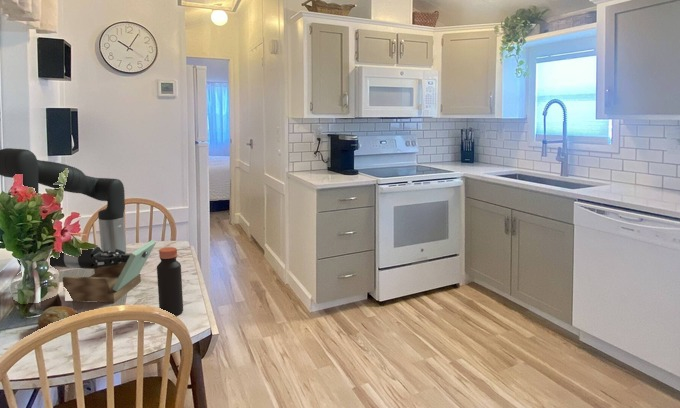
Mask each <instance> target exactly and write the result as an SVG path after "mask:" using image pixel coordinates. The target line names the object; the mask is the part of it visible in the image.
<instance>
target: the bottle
mask: <svg viewBox="0 0 680 408" xmlns="http://www.w3.org/2000/svg"><path fill="white" fill-rule="evenodd" d="M158 255H159V259H160V262H159V263H158V264H157V266H156V273H157V274H156V276H157V292H158V294H157V295H158V306H159V307H158V308H161V309H163V310H166V311H168V312H170V313H172V314H174V315H177V316H179V315H181V314H182V313H183V311H184V299H183V297H184V296H183V295H184V294H183V282H182V281H183V280H182V277H183V275H182V266H181V263H180V262H179V261H178V260H177V258H178V248H177V247H172V246H171V247H167V246H166V247H163V248H160V249H158Z"/></svg>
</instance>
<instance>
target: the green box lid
mask: <svg viewBox="0 0 680 408" xmlns="http://www.w3.org/2000/svg"><path fill="white" fill-rule="evenodd" d="M156 244H157V241H156V240H154V239H151V240H150V241H149V242H147V243H145V244H144V245H142V246H140V247H139V248H137V249H136V250H134V251H133V252H130V253H131V255H130V257H129V259H128V261H127V263H126V264H125V266H124V268H123V270H122V272H121V274H120V276H119V278H118V279H117V281H116V283H115V285H114V287H113V290H115V291H118V290H119V289H120V288H122V287H123V286H124V285H126V284H127V283H128V282H130V281H131V280H132V279H134V278H135V277H136V276H138V275H139V274H141V271H142V270H143V268H144V266H145V264H146V262H147V260H148V259H149V256H150V255H151V253H152V251H153V249H154V247H155V246H156Z"/></svg>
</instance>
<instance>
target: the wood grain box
mask: <svg viewBox="0 0 680 408" xmlns="http://www.w3.org/2000/svg"><path fill="white" fill-rule="evenodd" d="M126 263H127V262H123V263H118V264H117V265H112V266H105V267H98V268H96V269H93V271H94V273H93V274H92V275H90V276H63V277H62V285H63V287H65V288H66V289H67V291H68V292H69V294H70V296H71V298H72V299H73V301H78V302H77V303H82V302H81V301H97V302H96V303H100V302H115V303H116V302H118V301H119V300H121V298H122V297H124V296H125V295H127V294H128V293H129V292H130V291H132V290H133V288H135V287H136V286H137V285H138V284H141V282H142V277H141V273H139V275H138V276H136V277H135V278H134V279H132V280H131V281H130V282H128V283H127V284H126V285H124V286H123V287H122V288H120V289H119V290H118V291H115V290H113V287H114V285H115V283H116V281H117V279H118V278H119V276H120V274H121V272H122V270H123V268H124V266H125V264H126ZM79 301H80V302H79Z"/></svg>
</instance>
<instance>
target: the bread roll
mask: <svg viewBox="0 0 680 408" xmlns="http://www.w3.org/2000/svg"><path fill="white" fill-rule="evenodd" d="M75 314H79V312H77V311H76V310H75V309H73V308H71V307H70V306H69V307H68V306H63V305H62V306H60V305H59V306H50V307H48V308H46V309H45V310H44V311H43V312H41V314H40V315H39V316H38V318H37V329H36V331H37V330H38V329H41V328H43V327H45V326H47V325H48V324H50V323H53V322H56V321H59V320H61V319H64V318H67V317H69V316H72V315H75Z"/></svg>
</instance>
